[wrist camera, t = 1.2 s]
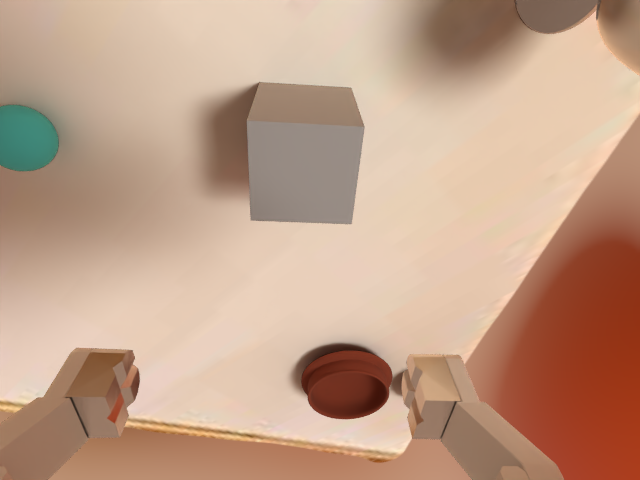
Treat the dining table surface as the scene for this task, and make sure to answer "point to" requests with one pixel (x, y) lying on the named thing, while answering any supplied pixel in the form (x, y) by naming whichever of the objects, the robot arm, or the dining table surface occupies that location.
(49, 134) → the ball
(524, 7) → the wine glass
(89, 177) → the dining table surface
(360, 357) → the pottery
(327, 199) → the grey matte cube
